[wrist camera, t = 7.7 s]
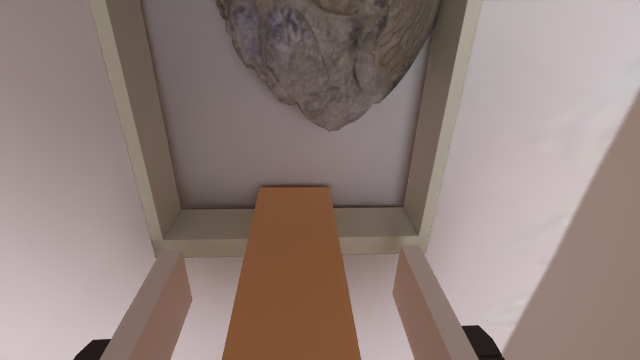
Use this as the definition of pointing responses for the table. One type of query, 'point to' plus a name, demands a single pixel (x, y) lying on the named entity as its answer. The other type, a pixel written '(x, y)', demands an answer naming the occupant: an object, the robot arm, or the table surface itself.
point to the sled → (285, 200)
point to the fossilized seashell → (329, 50)
